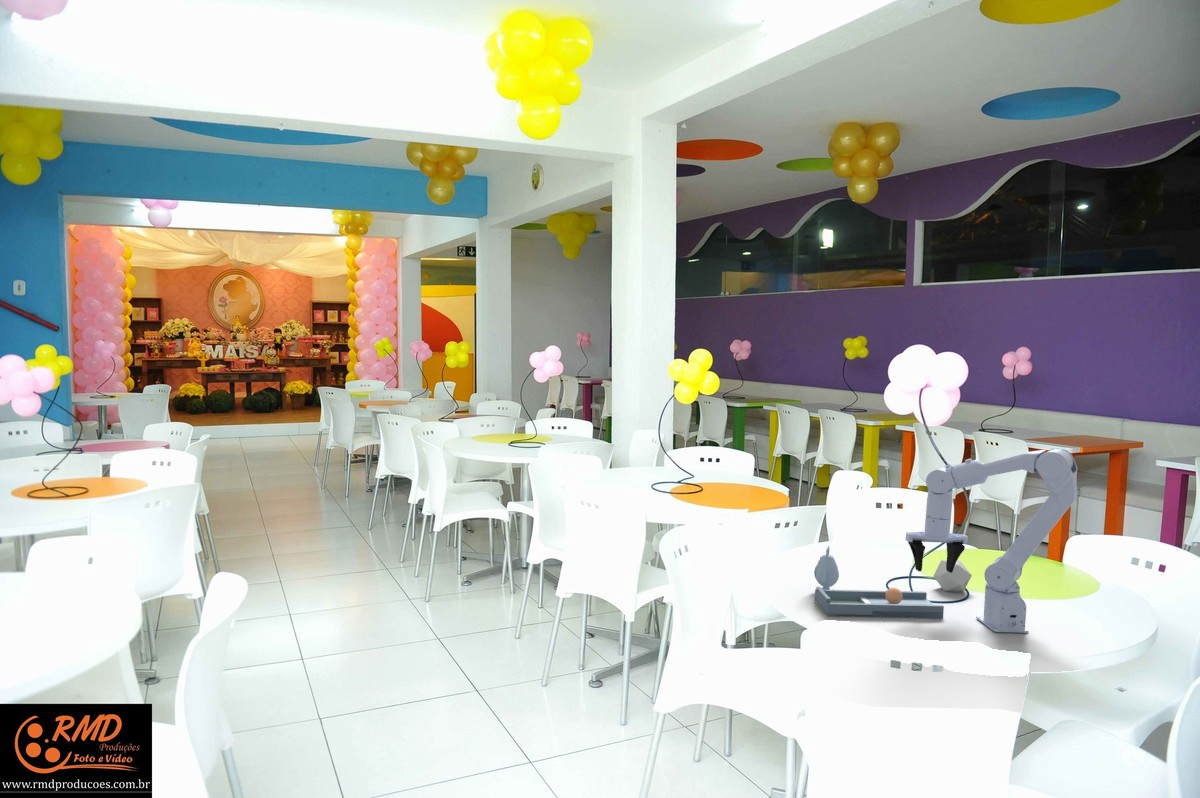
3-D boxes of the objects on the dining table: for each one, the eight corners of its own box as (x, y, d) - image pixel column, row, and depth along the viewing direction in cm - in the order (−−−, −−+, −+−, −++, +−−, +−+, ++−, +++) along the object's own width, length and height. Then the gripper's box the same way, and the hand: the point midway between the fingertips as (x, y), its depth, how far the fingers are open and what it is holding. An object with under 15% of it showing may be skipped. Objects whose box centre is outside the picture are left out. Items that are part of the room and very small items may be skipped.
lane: (943, 618, 193) (944, 602, 193) (826, 616, 193) (827, 599, 193) (924, 603, 204) (925, 587, 204) (814, 601, 204) (815, 585, 204)
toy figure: (816, 584, 217) (818, 541, 216) (840, 588, 215) (842, 544, 214) (810, 596, 208) (812, 550, 207) (835, 599, 205) (837, 553, 204)
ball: (904, 606, 196) (905, 590, 196) (888, 606, 196) (889, 590, 196) (898, 601, 200) (899, 585, 200) (882, 601, 200) (883, 585, 200)
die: (966, 599, 210) (981, 568, 212) (936, 581, 211) (952, 550, 213) (952, 600, 217) (967, 570, 220) (923, 583, 219) (939, 553, 221)
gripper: (960, 514, 201) (956, 567, 202) (902, 511, 201) (898, 564, 202) (973, 521, 194) (968, 575, 195) (913, 518, 194) (909, 573, 195)
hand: (933, 570), depth 198 cm, fingers open, 7 cm apart
